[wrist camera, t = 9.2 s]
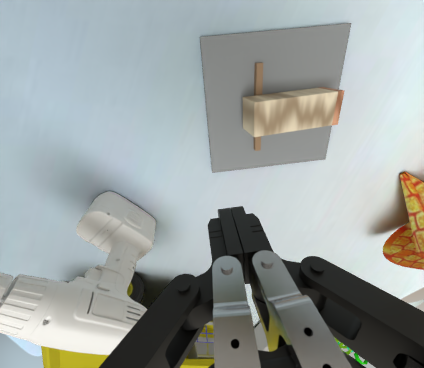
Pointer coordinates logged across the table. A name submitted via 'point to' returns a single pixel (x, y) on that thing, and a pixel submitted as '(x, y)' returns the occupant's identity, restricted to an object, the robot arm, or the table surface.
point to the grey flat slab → (261, 338)
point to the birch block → (291, 111)
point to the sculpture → (409, 228)
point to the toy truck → (89, 363)
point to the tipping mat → (267, 90)
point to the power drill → (84, 286)
